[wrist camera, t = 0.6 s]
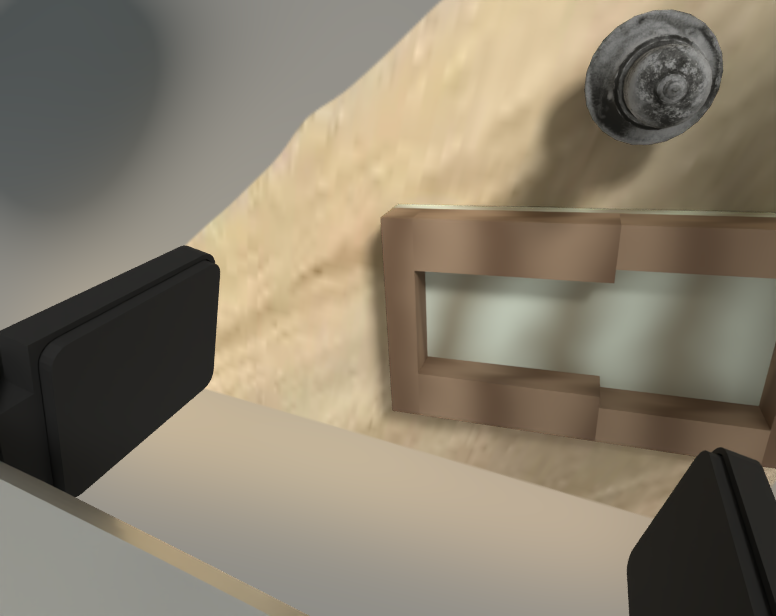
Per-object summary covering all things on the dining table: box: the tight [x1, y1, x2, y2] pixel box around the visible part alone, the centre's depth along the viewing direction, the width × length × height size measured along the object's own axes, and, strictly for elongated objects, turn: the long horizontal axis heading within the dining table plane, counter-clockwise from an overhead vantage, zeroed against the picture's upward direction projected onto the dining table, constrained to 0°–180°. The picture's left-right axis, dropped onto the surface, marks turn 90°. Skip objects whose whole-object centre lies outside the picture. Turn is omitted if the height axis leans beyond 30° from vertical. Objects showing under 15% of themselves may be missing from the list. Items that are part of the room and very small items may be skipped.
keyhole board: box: [381, 204, 776, 469], centre depth 33 cm, size 24×14×4 cm, turn 93°
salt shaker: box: [584, 10, 723, 145], centre depth 23 cm, size 6×6×12 cm
